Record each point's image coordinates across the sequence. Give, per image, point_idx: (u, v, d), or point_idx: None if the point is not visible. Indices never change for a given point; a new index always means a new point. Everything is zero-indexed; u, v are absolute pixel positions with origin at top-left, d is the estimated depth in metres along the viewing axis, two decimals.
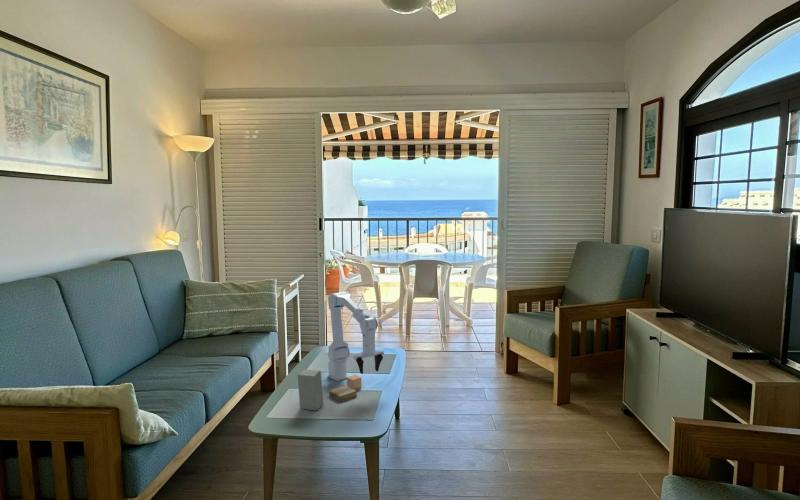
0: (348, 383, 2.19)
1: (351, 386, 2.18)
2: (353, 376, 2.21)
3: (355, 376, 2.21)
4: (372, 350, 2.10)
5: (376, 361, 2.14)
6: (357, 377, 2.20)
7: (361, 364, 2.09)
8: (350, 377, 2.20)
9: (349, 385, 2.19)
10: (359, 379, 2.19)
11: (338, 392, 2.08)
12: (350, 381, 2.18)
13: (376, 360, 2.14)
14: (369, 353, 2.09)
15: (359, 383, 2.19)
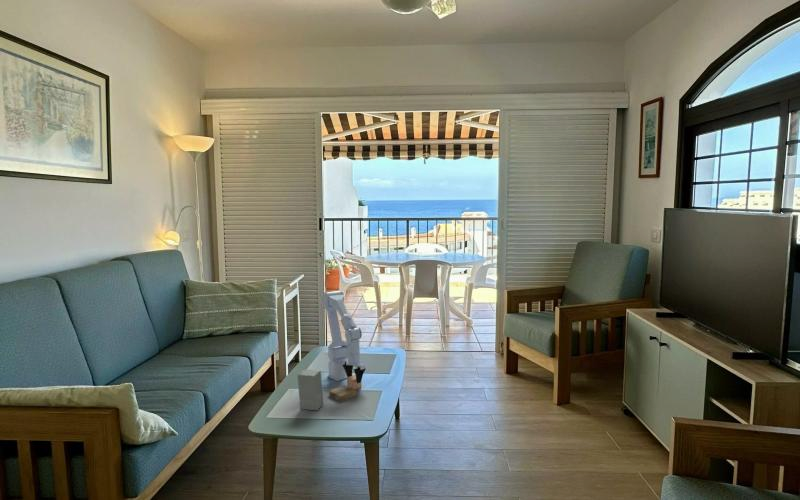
0: (348, 383, 2.19)
1: (351, 386, 2.18)
2: (353, 376, 2.21)
3: (355, 376, 2.21)
4: (349, 359, 2.17)
5: None
6: None
7: (345, 369, 2.22)
8: (350, 377, 2.20)
9: (349, 385, 2.19)
10: None
11: (338, 392, 2.08)
12: (350, 381, 2.18)
13: None
14: (348, 361, 2.18)
15: (359, 383, 2.19)
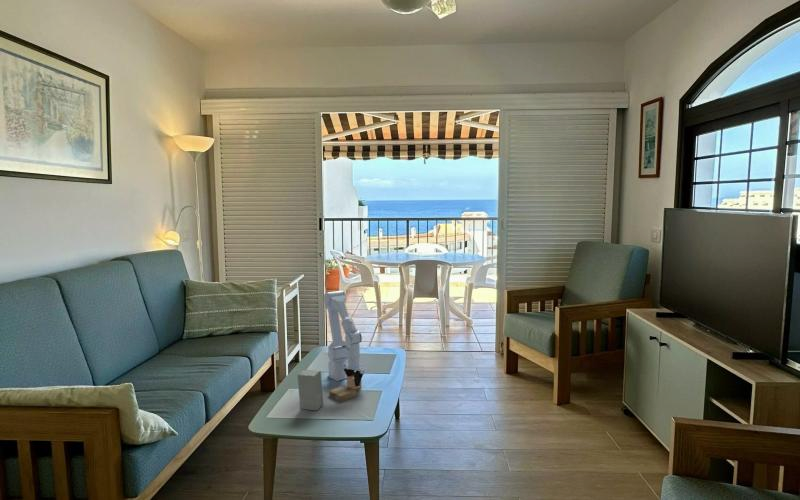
0: (348, 383, 2.19)
1: (351, 386, 2.18)
2: (353, 376, 2.21)
3: None
4: (349, 363, 2.17)
5: None
6: None
7: (346, 373, 2.21)
8: (350, 377, 2.20)
9: (349, 385, 2.19)
10: None
11: (338, 392, 2.08)
12: (350, 381, 2.18)
13: None
14: (348, 365, 2.18)
15: None
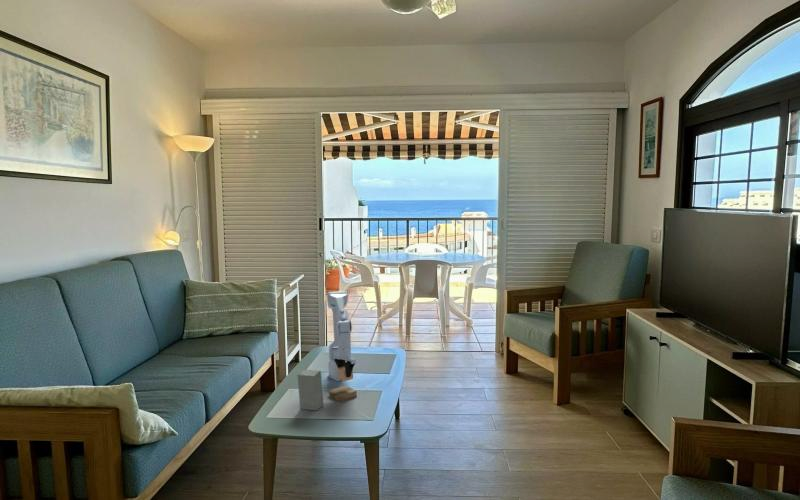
0: (339, 374, 2.11)
1: (342, 377, 2.09)
2: (344, 367, 2.12)
3: None
4: (340, 353, 2.08)
5: None
6: None
7: (336, 364, 2.12)
8: (341, 368, 2.11)
9: (340, 376, 2.10)
10: None
11: (338, 392, 2.08)
12: (341, 372, 2.09)
13: None
14: (338, 355, 2.09)
15: None
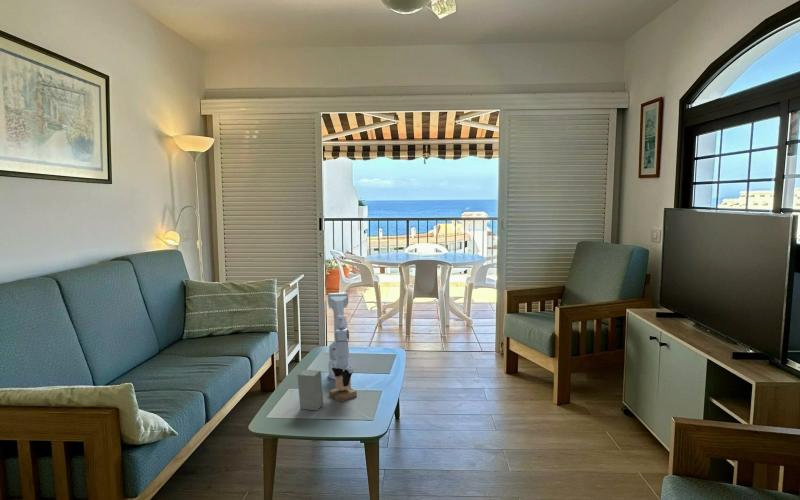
0: (336, 383, 2.09)
1: (340, 386, 2.07)
2: None
3: None
4: (337, 362, 2.06)
5: None
6: None
7: (334, 372, 2.10)
8: (339, 377, 2.09)
9: (338, 385, 2.08)
10: None
11: (338, 392, 2.08)
12: (339, 381, 2.07)
13: None
14: (336, 364, 2.07)
15: None
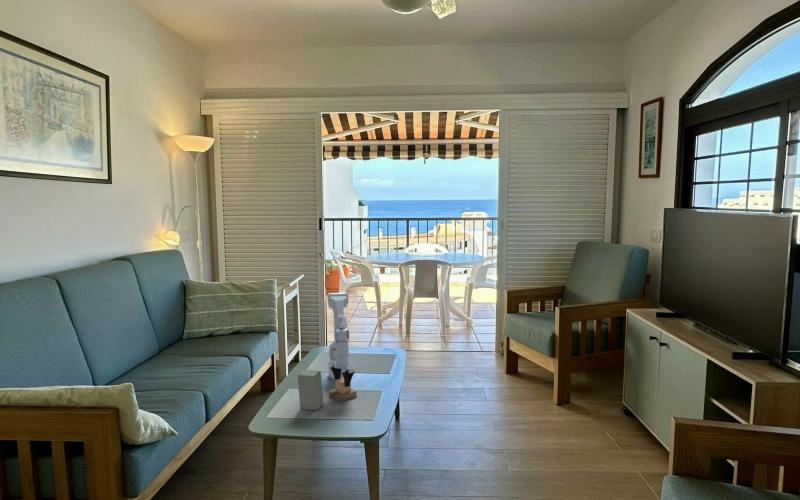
0: (336, 386, 2.09)
1: (340, 389, 2.07)
2: (342, 379, 2.10)
3: None
4: (337, 362, 2.06)
5: None
6: None
7: (333, 372, 2.11)
8: (339, 380, 2.09)
9: (338, 388, 2.08)
10: None
11: (338, 392, 2.08)
12: (339, 384, 2.07)
13: None
14: (336, 364, 2.07)
15: None
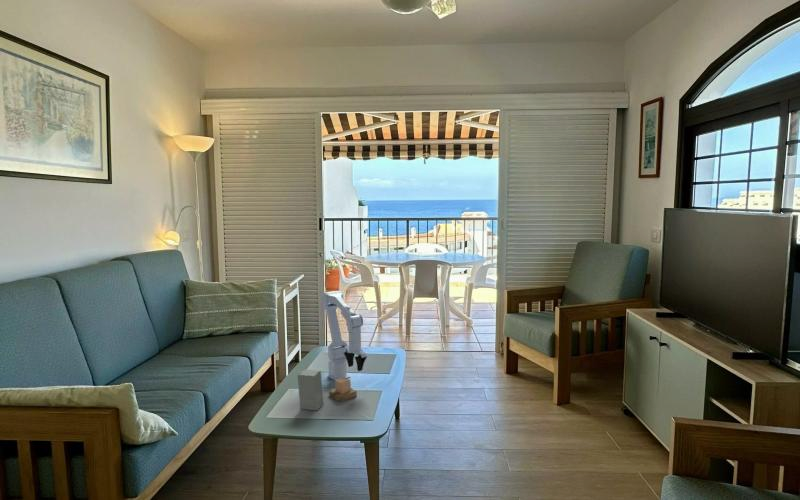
0: (336, 386, 2.09)
1: (340, 389, 2.07)
2: (342, 379, 2.10)
3: (344, 379, 2.10)
4: (350, 347, 2.14)
5: None
6: (346, 380, 2.09)
7: (346, 357, 2.19)
8: (338, 380, 2.09)
9: (337, 388, 2.08)
10: (348, 382, 2.08)
11: (338, 392, 2.08)
12: (339, 385, 2.07)
13: None
14: (349, 349, 2.16)
15: (348, 386, 2.08)
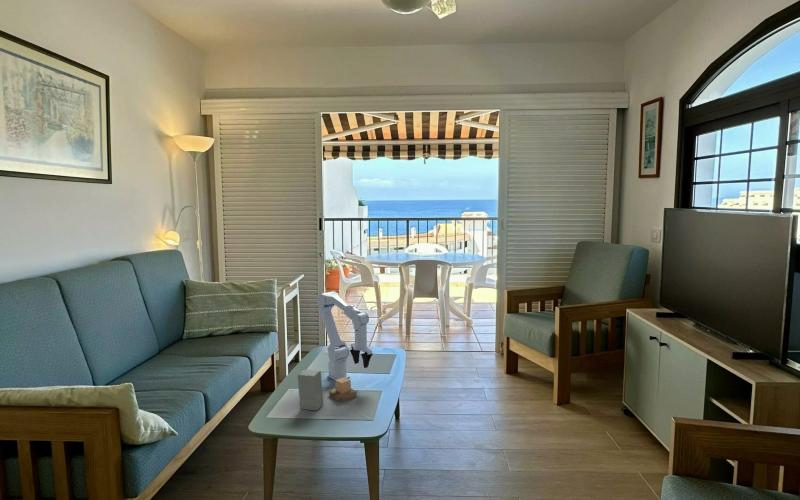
0: (336, 386, 2.09)
1: (340, 389, 2.07)
2: (342, 379, 2.10)
3: (344, 379, 2.10)
4: (357, 344, 2.18)
5: None
6: (346, 380, 2.09)
7: (352, 354, 2.23)
8: (339, 380, 2.09)
9: (338, 388, 2.08)
10: (348, 382, 2.08)
11: (338, 392, 2.08)
12: (339, 384, 2.07)
13: None
14: (355, 346, 2.20)
15: (348, 386, 2.09)
